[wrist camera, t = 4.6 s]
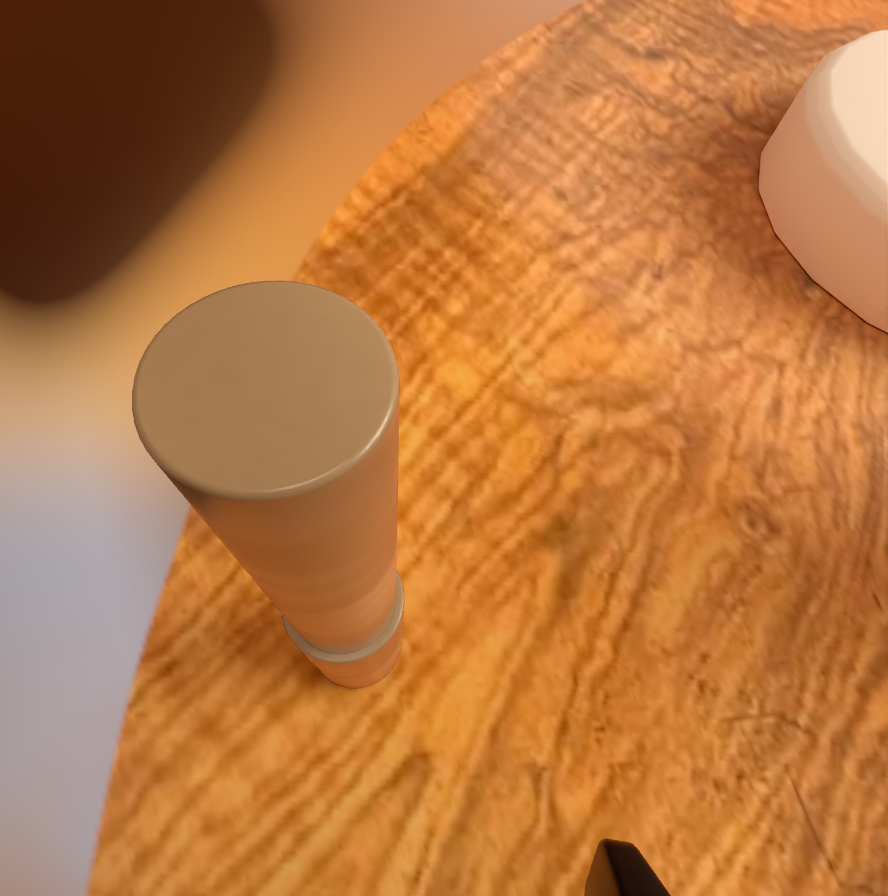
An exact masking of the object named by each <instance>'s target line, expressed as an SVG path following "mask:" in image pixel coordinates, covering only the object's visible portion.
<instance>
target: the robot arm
mask: <svg viewBox="0 0 888 896" xmlns="http://www.w3.org/2000/svg"><path fill="white" fill-rule="evenodd" d="M584 896H671V895H670V894H669V893H668V891H667V890H666V888H665V887H664V885H663V884H662V883H661V881H660V880H659V878H658V877H657V876H656V874H655V873H654V871H653V870H652V868H651V867H650V866H649V864H648V863H647V861H646V860H645V858H644V857H643V856H642V854H641V853H640V851H639V850H638V849H637V848H636V847H635V846H634V845H633V844H631V843H629V842H625V841H618V840H612V839H603V840H601V841H600V842H599V844H598V846H597V849H596V853H595V856H594V859H593V862H592V865H591V868H590V871H589V874H588V877H587V881H586V885H585V894H584Z"/></svg>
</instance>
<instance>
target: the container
mask: <svg viewBox="0 0 888 896" xmlns="http://www.w3.org/2000/svg"><path fill="white" fill-rule="evenodd" d="M758 190H759V193H760V195H761V198H762V200H763V203H764V206H765V208H766V211H767V213H768V216H769V218H770V221H771V224H772V226H773V229H774V231H775V234H776V235H777V236H778V237H779V239H780V240H781V241H782V242H783V244H784V245H785V246H786V247H787V249H788V250H789V251H790V252H791V254H792V255H793V256H794V257H795V259H796V260H797V261H798V262H799V264H800V265H801V266H802V267H803V269H804V270H805V271H806V272H807V274H808V275H809V276H810V277H811V279H813V280H814V281H815V282H816V283H818V284H819V285H820V286H821V287H823V288H824V289H825V290H826V291H828V292H829V293H830V294H832V295H833V296H834V297H835V298H837V299H838V300H839V301H840V302H842V303H843V304H844V305H846V306H847V307H848V308H849V309H851V310H852V311H853V312H854V313H856V314H857V315H858V316H859V317H861V318H862V319H863V320H865V321H866V322H867V323H869V324H871V325H873V326H875V327H877V328H879V329H881V330H883V331H885V332H887V333H888V30H882V31H875V32H871V33H868V34H866V35H864V36H862V37H860V38H858V39H856V40H854V41H852V42H850V43H848V44H845V45H843V46H841V47H839V48H837V49H835V50H833V51H831V52H829V53H828V54H826V55H825V56H823V57H822V59H821V60H820V62H819V63H818V64H817V66H816V67H815V69H814V70H813V72H812V73H811V74H810V76H809V77H808V79H807V80H806V82H805V83H804V85H803V86H802V88H801V89H800V91H799V93H798V94H797V96H796V97H795V99H794V101H793V102H792V104H791V106H790V107H789V109H788V110H787V112H786V114H785V115H784V117H783V118H782V120H781V122H780V123H779V125H778V127H777V128H776V130H775V131H774V133H773V135H772V136H771V138H770V139H769V141H768V143H767V144H766V146H765V147H764V149H763V151H762V152H761V158H760V174H759V189H758Z"/></svg>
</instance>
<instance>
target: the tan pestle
mask: <svg viewBox="0 0 888 896" xmlns="http://www.w3.org/2000/svg"><path fill="white" fill-rule="evenodd" d="M399 394H400V381H399V369H398V365H397V361H396V357H395V354H394V352H393V349H392V347H391V344H390V342H389V341H388V339H387V337H386V336H385V334H384V332H383V331H382V330H381V329H380V327H379V326H378V325H377V324H376V322H375V321H374V320H373V319H372V318H371V317H370V316H369V315H368V314H367V313H366V312H365V311H364V310H363V309H361V308H360V307H359V306H357V305H356V304H354V303H353V302H352V301H350V300H348V299H346V298H344V297H343V296H341V295H339V294H337V293H334V292H332V291H329V290H327V289H324V288H321V287H317V286H314V285H310V284H305V283H299V282H290V281H261V282H252V283H246V284H242V285H237V286H233V287H230V288H227V289H223V290H220V291H218V292H215V293H213V294H210V295H208V296H206V297H204V298H202V299H200V300H198V301H196V302H195V303H193V304H191V305H189V306H188V307H186V308H185V309H184V310H182V311H181V312H179V313H178V314H177V315H175V316H174V317H173V318H172V319H171V320H170V321H169V322H168V323H166V324H165V325H164V326H163V328H162V329H161V330H160V331H159V332H158V333H157V334H156V335H155V337H154V338H153V340H152V341H151V343H150V344H149V345H148V347H147V349H146V350H145V352H144V354H143V356H142V358H141V360H140V363H139V365H138V368H137V371H136V374H135V379H134V385H133V391H132V411H133V417H134V423H135V426H136V429H137V432H138V435H139V437H140V440H141V441H142V443H143V445H144V447H145V449H146V450H147V452H148V453H149V454H150V456H151V457H152V458H153V459H154V461H155V462H156V463H157V465H158V466H159V467H160V468H161V469H162V470H163V472H164V473H165V474H166V475H167V476H168V478H169V479H170V480H171V481H172V482H173V484H174V485H175V486H176V487H177V488H178V490H179V491H180V492H181V493H182V494H183V495H184V497H185V498H186V499H187V500H188V502H189V503H190V504H191V505H192V506H193V508H194V509H195V510H196V511H197V512H198V514H199V515H200V516H201V517H202V518H203V520H204V521H205V522H206V523H207V524H208V526H209V527H210V528H211V529H212V530H213V532H214V533H215V534H216V535H217V536H218V538H219V539H220V540H221V541H222V542H223V544H224V545H225V546H226V547H227V548H228V550H229V551H230V552H231V553H232V554H233V556H234V557H235V558H236V559H237V560H238V562H239V563H240V564H241V565H242V566H243V568H244V569H245V570H246V571H247V572H248V574H249V575H250V576H251V577H252V578H253V580H254V581H255V582H256V583H257V584H258V586H259V587H260V588H261V589H262V590H263V592H264V593H265V594H266V595H267V596H268V598H269V599H270V600H271V601H272V602H273V604H274V605H275V606H276V607H277V608H278V610H279V611H280V612H281V613H282V619H283V623H284V626H285V629H286V631H287V633H288V635H289V637H290V638H291V640H292V641H293V643H294V644H295V645H296V646H297V647H298V648H299V649H300V650H301V651H302V652H303V654H304V655H305V656H306V657H307V658H308V659H309V660H310V661H311V662H312V663H313V664H314V665H315V666H316V667H317V668H318V669H319V670H320V671H321V672H322V673H323V674H324V675H325V676H326V677H327V678H328V679H329V680H330V681H332V682H333V683H335V684H337V685H340V686H343V687H347V688H363V687H367V686H370V685H372V684H375V683H376V682H378V681H380V680H381V679H382V678H384V677H385V676H386V675H387V674H388V673H389V672H390V671H391V669H392V668H393V666H394V665H395V663H396V661H397V659H398V656H399V653H400V649H401V640H402V627H403V614H404V599H405V598H404V589H403V584H402V581H401V578H400V575H399V573H398V571H397V569H396V564H397V507H398V451H399Z"/></svg>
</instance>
